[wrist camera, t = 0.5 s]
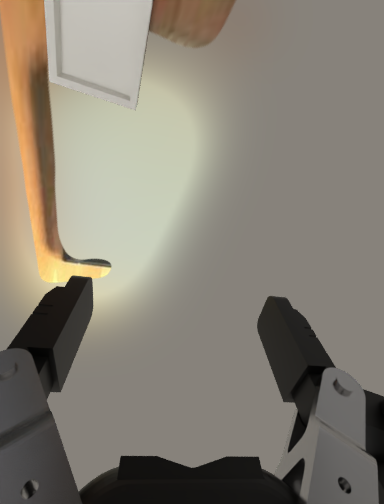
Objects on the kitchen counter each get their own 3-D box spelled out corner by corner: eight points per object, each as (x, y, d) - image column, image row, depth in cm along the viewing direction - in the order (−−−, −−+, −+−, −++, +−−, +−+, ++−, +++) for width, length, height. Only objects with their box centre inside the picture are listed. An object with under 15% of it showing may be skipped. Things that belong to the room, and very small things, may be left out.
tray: (48, -95, 21) (37, -104, 19) (159, -38, 23) (158, -41, 22) (56, 77, 29) (49, 81, 27) (137, 104, 32) (135, 110, 30)
